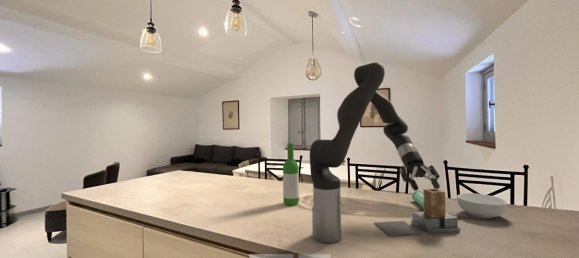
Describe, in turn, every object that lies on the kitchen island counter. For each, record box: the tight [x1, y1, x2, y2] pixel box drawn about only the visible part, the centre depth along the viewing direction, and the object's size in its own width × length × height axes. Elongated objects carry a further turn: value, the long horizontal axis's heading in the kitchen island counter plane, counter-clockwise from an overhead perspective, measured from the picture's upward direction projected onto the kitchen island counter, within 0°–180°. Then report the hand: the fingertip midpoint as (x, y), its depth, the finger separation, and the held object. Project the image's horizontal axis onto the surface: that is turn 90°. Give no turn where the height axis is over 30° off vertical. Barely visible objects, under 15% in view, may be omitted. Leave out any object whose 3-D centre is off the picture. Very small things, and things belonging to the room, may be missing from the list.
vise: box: [410, 211, 462, 235], centre depth 95 cm, size 16×10×12 cm, turn 96°
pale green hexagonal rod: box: [411, 190, 424, 209], centre depth 116 cm, size 6×6×25 cm
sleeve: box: [422, 188, 446, 218], centre depth 94 cm, size 5×5×9 cm
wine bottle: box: [282, 142, 300, 206], centre depth 127 cm, size 8×8×30 cm
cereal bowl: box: [456, 192, 509, 219], centre depth 107 cm, size 17×17×7 cm
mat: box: [374, 220, 423, 237], centre depth 94 cm, size 12×12×1 cm
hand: (427, 189), depth 98 cm, fingers open, 8 cm apart
